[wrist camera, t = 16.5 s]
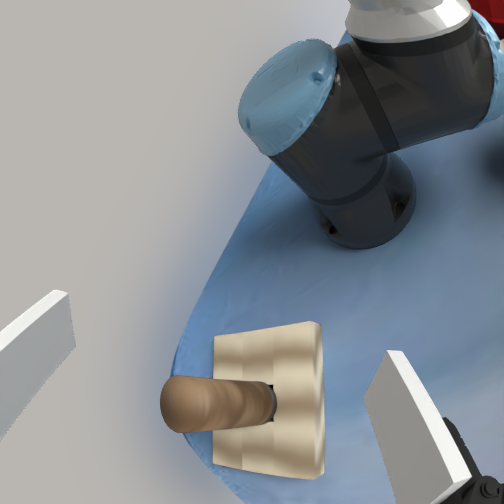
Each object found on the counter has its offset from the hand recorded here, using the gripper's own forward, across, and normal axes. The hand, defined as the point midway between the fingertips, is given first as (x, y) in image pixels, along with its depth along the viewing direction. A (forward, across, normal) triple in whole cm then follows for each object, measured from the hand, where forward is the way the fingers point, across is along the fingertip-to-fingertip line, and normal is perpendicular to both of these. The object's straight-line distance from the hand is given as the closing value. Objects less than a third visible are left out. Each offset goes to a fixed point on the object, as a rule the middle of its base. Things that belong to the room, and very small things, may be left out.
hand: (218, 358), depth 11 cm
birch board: (+20, +7, -23) cm, 31 cm away
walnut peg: (+20, +7, -22) cm, 31 cm away
